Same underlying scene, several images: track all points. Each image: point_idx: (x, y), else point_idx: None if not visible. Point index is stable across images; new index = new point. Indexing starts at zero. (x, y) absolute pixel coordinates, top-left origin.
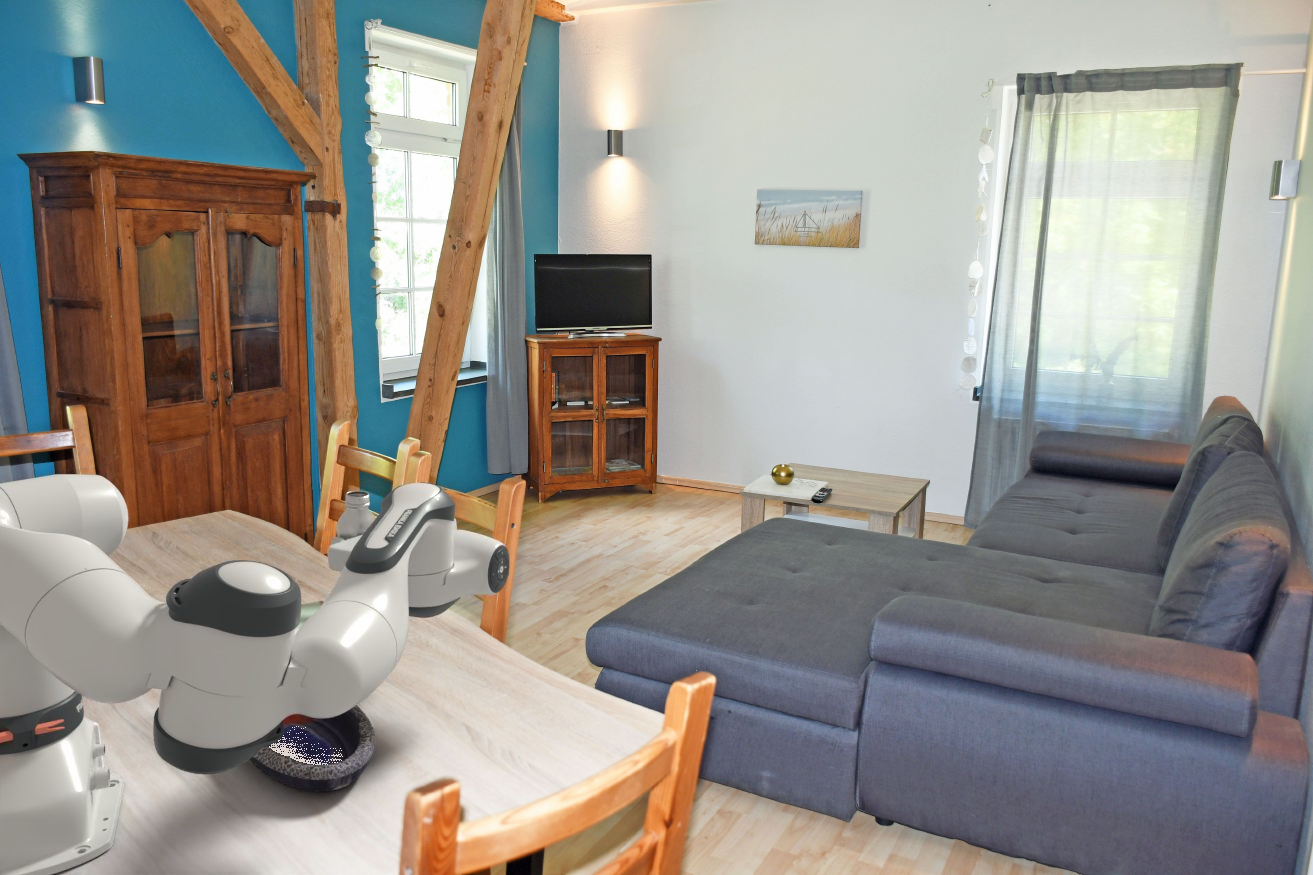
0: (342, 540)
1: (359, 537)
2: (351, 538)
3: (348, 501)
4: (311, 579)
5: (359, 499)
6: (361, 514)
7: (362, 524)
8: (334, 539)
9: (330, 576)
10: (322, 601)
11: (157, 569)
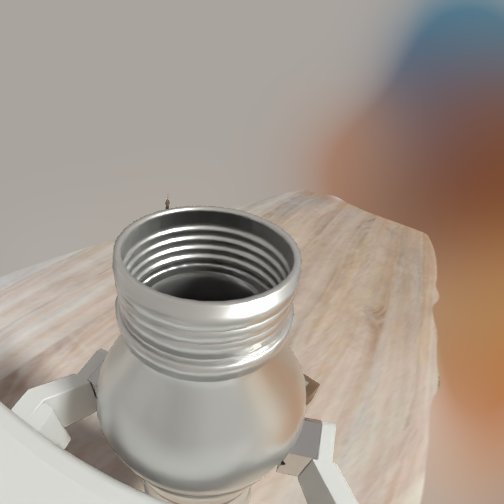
0: (50, 388)
1: (7, 447)
2: (2, 415)
3: (134, 255)
4: (392, 330)
5: (121, 288)
6: (139, 382)
7: (115, 425)
8: (92, 359)
9: (410, 341)
10: (316, 386)
11: (326, 237)
